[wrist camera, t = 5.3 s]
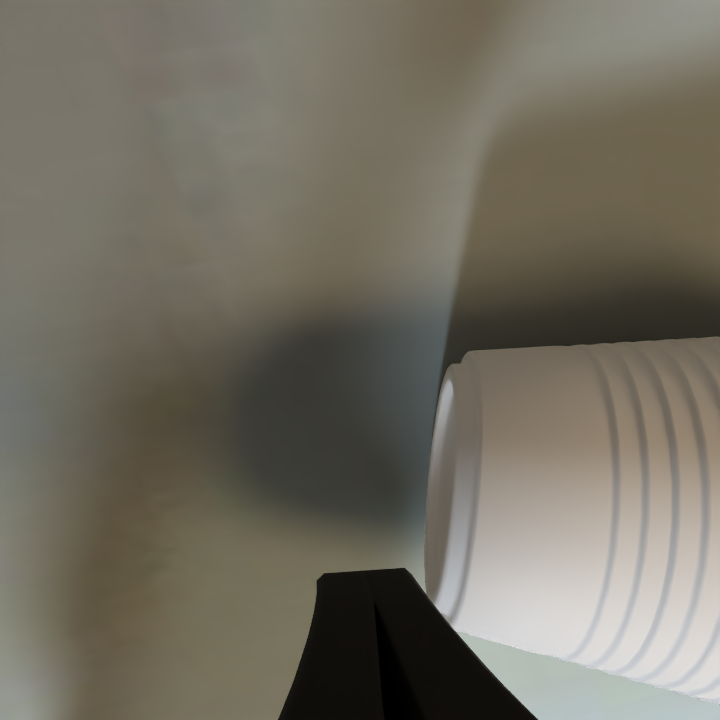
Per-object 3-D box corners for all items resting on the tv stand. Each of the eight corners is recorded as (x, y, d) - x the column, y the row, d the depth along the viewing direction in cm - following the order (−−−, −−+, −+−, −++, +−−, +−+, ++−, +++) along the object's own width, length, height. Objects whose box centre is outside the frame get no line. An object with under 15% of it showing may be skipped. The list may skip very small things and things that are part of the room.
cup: (503, 417, 8) (1406, 509, 8) (456, 211, 17) (885, 252, 17) (414, 839, 13) (983, 907, 13) (413, 507, 22) (748, 542, 21)
